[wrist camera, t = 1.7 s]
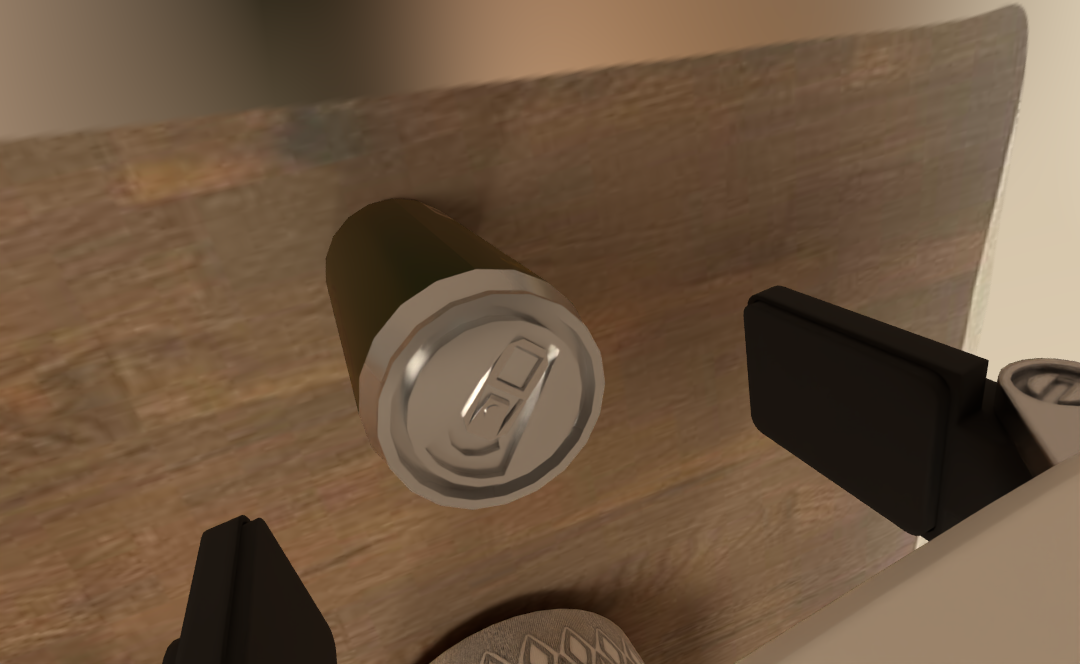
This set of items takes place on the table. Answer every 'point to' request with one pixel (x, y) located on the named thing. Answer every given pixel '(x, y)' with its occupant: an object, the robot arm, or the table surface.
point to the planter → (546, 641)
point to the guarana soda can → (459, 357)
